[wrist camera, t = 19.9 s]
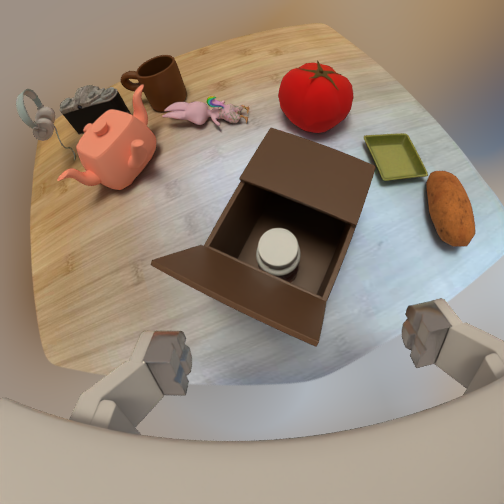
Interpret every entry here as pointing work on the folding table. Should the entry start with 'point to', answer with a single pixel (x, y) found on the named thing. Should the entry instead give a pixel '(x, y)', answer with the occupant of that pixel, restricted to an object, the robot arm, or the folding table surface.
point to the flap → (247, 291)
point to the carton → (296, 207)
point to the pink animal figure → (205, 111)
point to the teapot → (115, 147)
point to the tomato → (315, 97)
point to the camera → (91, 105)
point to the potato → (450, 209)
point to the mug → (158, 82)
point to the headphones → (38, 117)
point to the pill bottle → (279, 254)
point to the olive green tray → (395, 156)
